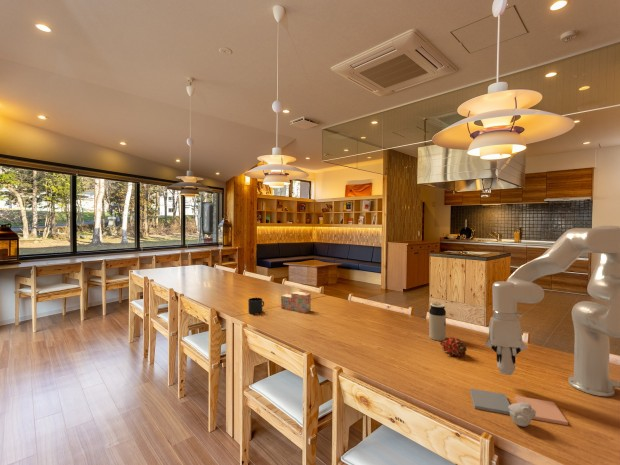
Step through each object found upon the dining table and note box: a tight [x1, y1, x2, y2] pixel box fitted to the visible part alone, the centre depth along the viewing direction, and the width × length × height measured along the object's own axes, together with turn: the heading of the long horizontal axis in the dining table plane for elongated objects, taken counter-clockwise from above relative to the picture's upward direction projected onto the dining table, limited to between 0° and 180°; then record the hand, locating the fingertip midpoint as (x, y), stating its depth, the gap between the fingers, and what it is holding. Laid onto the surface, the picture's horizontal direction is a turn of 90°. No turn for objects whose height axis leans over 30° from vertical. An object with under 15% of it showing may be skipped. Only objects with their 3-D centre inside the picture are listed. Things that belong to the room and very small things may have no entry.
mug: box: [247, 297, 265, 315], centre depth 212 cm, size 9×12×9 cm
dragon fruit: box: [439, 336, 468, 357], centre depth 142 cm, size 8×8×12 cm
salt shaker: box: [496, 344, 516, 376], centre depth 114 cm, size 6×6×13 cm
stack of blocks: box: [280, 291, 312, 314], centre depth 217 cm, size 21×6×12 cm, turn 58°
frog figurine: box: [508, 402, 536, 427], centre depth 93 cm, size 6×7×7 cm
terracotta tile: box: [514, 395, 569, 426], centre depth 99 cm, size 11×11×1 cm
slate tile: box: [469, 388, 511, 416], centre depth 104 cm, size 11×11×1 cm
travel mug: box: [428, 302, 447, 342], centre depth 161 cm, size 8×8×18 cm
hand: (505, 363), depth 114 cm, fingers closed on salt shaker, 3 cm apart
